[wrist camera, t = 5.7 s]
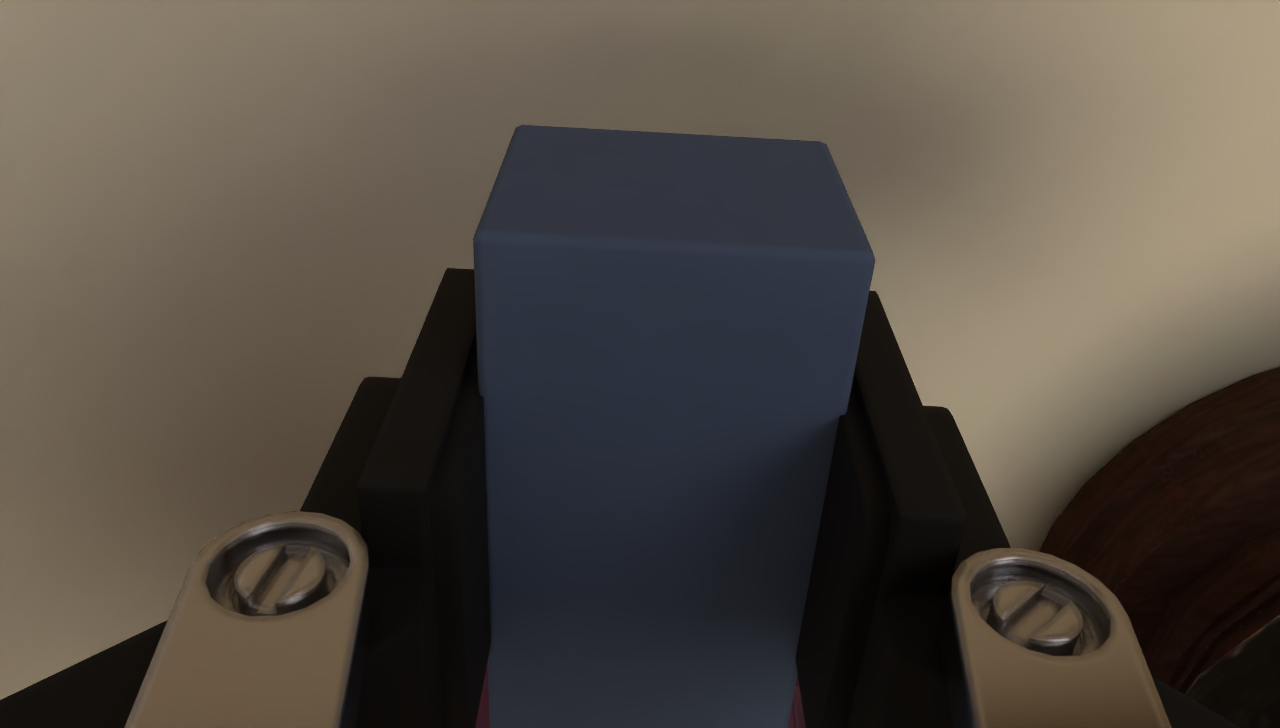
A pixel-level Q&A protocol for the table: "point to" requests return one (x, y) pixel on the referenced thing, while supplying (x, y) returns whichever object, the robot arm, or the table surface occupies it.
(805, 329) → the blue block
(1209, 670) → the black crystal ball
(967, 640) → the robot arm
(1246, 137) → the table surface
